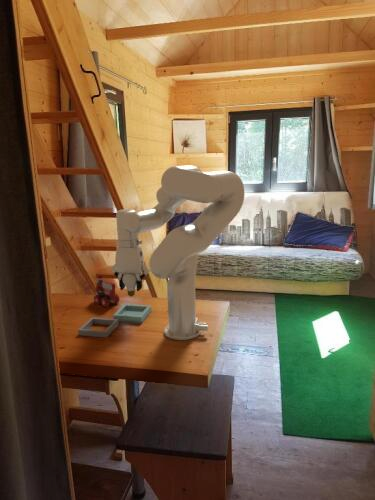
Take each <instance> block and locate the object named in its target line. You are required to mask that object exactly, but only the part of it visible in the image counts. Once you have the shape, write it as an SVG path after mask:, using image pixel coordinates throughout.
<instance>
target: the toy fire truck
mask: <svg viewBox="0 0 375 500" xmlns="http://www.w3.org/2000/svg"><path fill="white" fill-rule="evenodd" d="M94 292H95V295H94V296H93V301H94V303H95V305H101V306H102V308H108V307H109V306H110V304H118V303H119V302H120V297H119V295H118V294H117V293H116V284H115V283H114V282H111V281H108V280H103V279H102V278H99V279H98V281H97V282H96V285H95V291H94Z"/></svg>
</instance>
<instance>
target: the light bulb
mask: <svg viewBox="0 0 375 500" xmlns="http://www.w3.org/2000/svg"><path fill="white" fill-rule="evenodd" d="M122 280H123V283H124V284H125V288H126V290H127V295H128V296H129V297H131V298H132V297H134V296H135V295H136V288H137V285H136V281H137V277H136V275H135V274H130V273H124V275H123V278H122Z"/></svg>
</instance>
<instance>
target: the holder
mask: <svg viewBox="0 0 375 500" xmlns="http://www.w3.org/2000/svg"><path fill="white" fill-rule="evenodd" d="M119 323H120V322H118V319H114V318H104V317H103V318H102V317H91V318H90V319H88V321H86V322H85V323H84V324H83V325H82V326H80V328H78V329H77V333H78V336H84V337H85V336H86V337H96V338H108V337H109V336H110V335H111V333H112V332H113V331H114V330H115V329H116V328H117V327H118V326H119ZM93 325H107V326H108V327H107V328H106V329H105V330H101V329H90V328H91V327H92V326H93Z"/></svg>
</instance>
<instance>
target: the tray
mask: <svg viewBox="0 0 375 500" xmlns="http://www.w3.org/2000/svg"><path fill="white" fill-rule="evenodd" d="M151 313H152V305H146V304H129V303H128V304H127V303H124V304H123V305H122V306H121V307H120V308H119V309H118V310H117V311H116V312H114V314H113V315H112V316H113V318H112V319H118V323H127V324H128V323H130V324H143V323H144V322H145V321H146V319H147V318H148V317H149V316H150V314H151Z"/></svg>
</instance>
